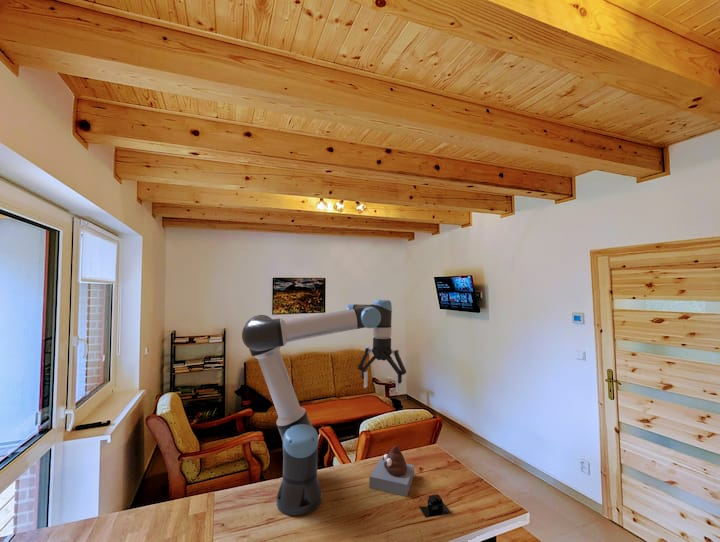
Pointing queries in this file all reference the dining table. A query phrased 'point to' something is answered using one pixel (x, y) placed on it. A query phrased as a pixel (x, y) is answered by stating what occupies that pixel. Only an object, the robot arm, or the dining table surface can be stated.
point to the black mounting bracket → (434, 507)
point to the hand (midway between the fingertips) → (381, 389)
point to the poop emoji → (395, 462)
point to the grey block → (391, 479)
